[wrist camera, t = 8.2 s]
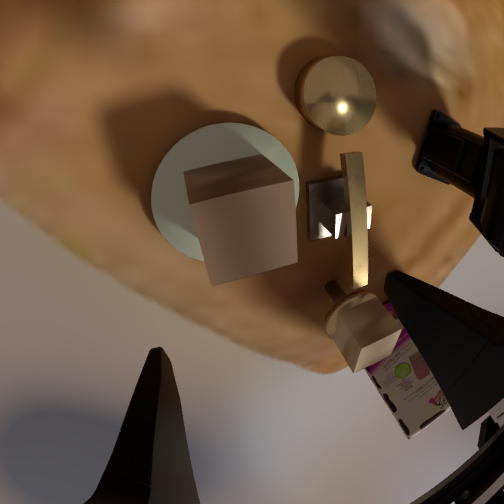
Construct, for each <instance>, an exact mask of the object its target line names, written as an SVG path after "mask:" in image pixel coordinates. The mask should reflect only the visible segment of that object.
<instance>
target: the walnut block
mask: <svg viewBox="0 0 504 504" xmlns="http://www.w3.org/2000/svg"><path fill="white" fill-rule="evenodd" d="M183 173H184V179H185V185H186V190H187V195H188V201H189V206H190V209H191V213H192V217H193V221H194V225H195V228H196V232H197V236H198V239H199V243H200V247H201V250H202V254H203V257H204V261H205V264H206V268H207V271H208V275H209V278H210V282H211V285H212V286H216V285H219V284H223V283H227V282H230V281H234V280H238V279H241V278H245V277H248V276H252V275H255V274H259V273H262V272H266V271H269V270H273V269H276V268H280V267H283V266H287V265H290V264H294V263H297V262H298V255H297V229H296V208H295V190H294V180H293V179H292V178H291V177H289V176H288V175H287V174H286V173H285V172H283V171H282V170H281V169H280V168H279V167H277V166H276V165H275V164H274V163H272V162H271V161H270V160H269V159H267V158H266V157H265V156H264V155H262V154H260V155H255V156H250V157H245V158H240V159H235V160H230V161H226V162H221V163H217V164H213V165H208V166H204V167H200V168H196V169H192V170H188V171H184V172H183Z"/></svg>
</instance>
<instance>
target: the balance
mask: <svg viewBox="0 0 504 504" xmlns="http://www.w3.org/2000/svg"><path fill="white" fill-rule="evenodd" d="M295 99H296V103H297V107H298V109H299V111H300V113H301V114H302V116H303V117H304V118H305V119H306V120H307V121H308V122H309V123H310V124H311V125H313V126H314V127H316V128H319V129H321V130H324V131H326V132H329V133H331V134H335V135H350V134H353V133H356V132H358V131H359V130H361V129H362V128H363V127H364V126H365V125H366V124H367V123H368V122H369V120H370V119H371V117H372V115H373V113H374V110H375V106H376V88H375V84H374V81H373V79H372V77H371V75H370V73H369V72H368V71H367V69H366V68H365V67H364V66H363V65H362V64H361V63H359V62H358V61H356V60H355V59H352V58H350V57H346V56H326V57H319V58H316V59H314V60H312V61H310V62H309V63H308V64H306V65H305V66H304V67H303V69H302V70H301V71H300V73H299V75H298V77H297V80H296V84H295ZM340 160H341V168H342V175H341V176H336V177H331V178H326V179H321V180H316V181H312V182H307V183H306V195H307V219H308V239H309V240H310V241H314V240H318V239H321V238H325V237H328V236H333V237H334V238H335V239H336V238H340V237H343V236H346V235H347V240H348V265H349V286H350V287H351V288H352V289H353V290H354V289H357V288H360V287H362V286H365V285H367V284H368V229H370V223H371V213H372V205H371V204H369V203H368V202H366V188H365V176H364V165H363V155H362V152H349V153H342V154H340ZM325 290H326V291H327V293H328V294H329V296H330V297H331V299H332V300H333V301H334V303H335V305H334V306H333V307H332V308H331V310H330V311H329V312H328V314H327V315H326V318H325V320H324V329H325V331H326V332H327V334H328V336H329V337H330V338H331V339H333V340H334V336H335V329H336V322H337V314H338V312H341V311H344V310H346V309H349V308H351V307H354V306H356V305H359V304H361V303H363V302H366V301H368V300H371V299H373V298H375V297H377V296H376V295H375V294H374V293H373V292H372V291H370V290H358V291H355V292H353V293H350V294H349V295H346V293H345V292H344V291H343V289H342V288H341V287H340V285H339V284H338V283H337V281H335V280H332V281H330V282H328V283H327V284H326V286H325ZM377 298H378V297H377Z"/></svg>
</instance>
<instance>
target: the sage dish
mask: <svg viewBox="0 0 504 504" xmlns="http://www.w3.org/2000/svg"><path fill="white" fill-rule="evenodd" d="M260 154H262V155H264V156H265V157H266V158H267V159H269V160H270V161H271V162H272V163H274V164H275V165H276V166H277V167H279V168H280V169H281V170H282V171H283V172H285V173H286V174H287V175H288V176H289V177H291V178H292V179H293V180H294V190H295V208H296V206H297V202H298V198H299V177H298V172H297V168H296V165H295V163H294V161H293V159H292V157H291V155H290V153H289V152H288V151H287V149H286V148H285V147H284V146H283V145H282V144H281V142H280V141H278V140H277V139H276V138H275V137H273V136H272V135H270V134H269V133H267V132H265V131H263V130H262V129H259V128H257V127H254V126H252V125H248V124H243V123H236V122H222V123H215V124H210V125H207V126H204V127H201V128H198V129H196V130H194V131H192V132H190V133H189V134H187V135H186V136H184V137H183V138H181V139H180V140H179V141H178V142H176V143H175V144H174V145H173V146H172V147H171V148H170V150H169V151H168V152H167V153H166V154H165V156H164V157H163V159H162V161H161V162H160V164H159V166H158V168H157V170H156V173H155V176H154V180H153V184H152V192H151V207H152V213H153V217H154V220H155V223H156V225H157V227H158V229H159V231H160V232H161V234H162V235H163V237H164V238H165V239H166V240H167V241H168V242H169V244H170V245H172V246H173V247H174V248H175V249H177V250H178V251H180V252H181V253H183V254H185V255H187V256H189V257H191V258H194V259H197V260H201V261H204V257H203V254H202V250H201V247H200V243H199V239H198V236H197V232H196V228H195V225H194V221H193V217H192V213H191V209H190V206H189V201H188V195H187V190H186V185H185V179H184V173H183V172H184V171H188V170H192V169H196V168H200V167H204V166H208V165H213V164H217V163H221V162H226V161H230V160H235V159H240V158H245V157H250V156H255V155H260Z"/></svg>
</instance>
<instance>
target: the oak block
mask: <svg viewBox="0 0 504 504" xmlns="http://www.w3.org/2000/svg"><path fill="white" fill-rule="evenodd" d="M401 330H402V328H401V327H400V325H399V324H398V323H397V322H396V320H395V319H394V318H393V317H392V315H391V314H390V313H389V312H388V310H387V309H386V308H385V307H384V305H383V304H382V303H381V302H380V300H379V299H378V298H377V297H375V298H373V299H371V300H368V301H366V302H363V303H361V304H359V305H356V306H354V307H351V308H349V309H346V310H344V311H341V312H338V314H337V322H336V329H335V336H334V341H335V343H336V345H337V346H338V348H339V350H340V351H341V353H342V355H343V356H344V358H345V360H346V362H347V363H348V365H349V367H350V368H351V370H352V372H353V373H355V372H358V371H360V370H362V369H364V368H366V367H368V366H370V365H372V364H374V363H376V362H378V361H380V360H382V359H384V358H386V357H388V356H390V355H391V353H392V351H393V349H394V346H395V344H396V342H397V340H398V337H399V335H400V333H401Z"/></svg>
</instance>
